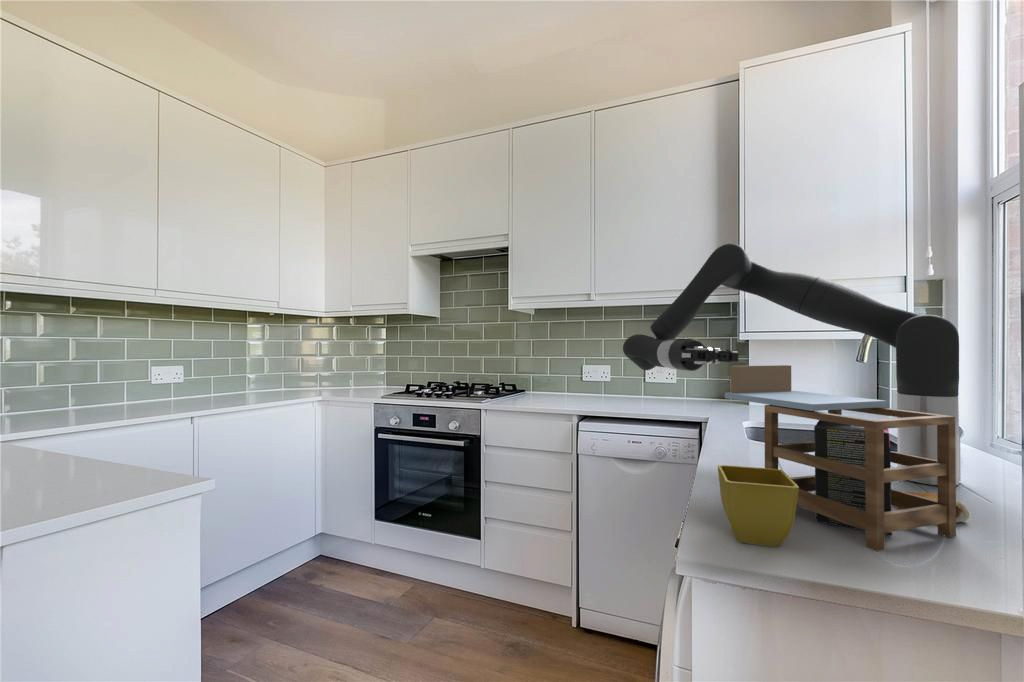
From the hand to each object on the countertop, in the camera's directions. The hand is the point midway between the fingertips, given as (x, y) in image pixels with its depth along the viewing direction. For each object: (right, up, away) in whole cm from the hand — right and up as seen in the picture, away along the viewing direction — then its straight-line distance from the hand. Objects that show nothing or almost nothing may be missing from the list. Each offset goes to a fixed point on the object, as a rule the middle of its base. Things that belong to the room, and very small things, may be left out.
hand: (735, 356), depth 94 cm
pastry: (+21, -25, -20) cm, 39 cm away
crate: (+7, -25, -23) cm, 34 cm away
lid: (+4, -7, -14) cm, 16 cm away
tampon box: (+7, -25, -23) cm, 34 cm away
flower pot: (-12, -25, -30) cm, 40 cm away
